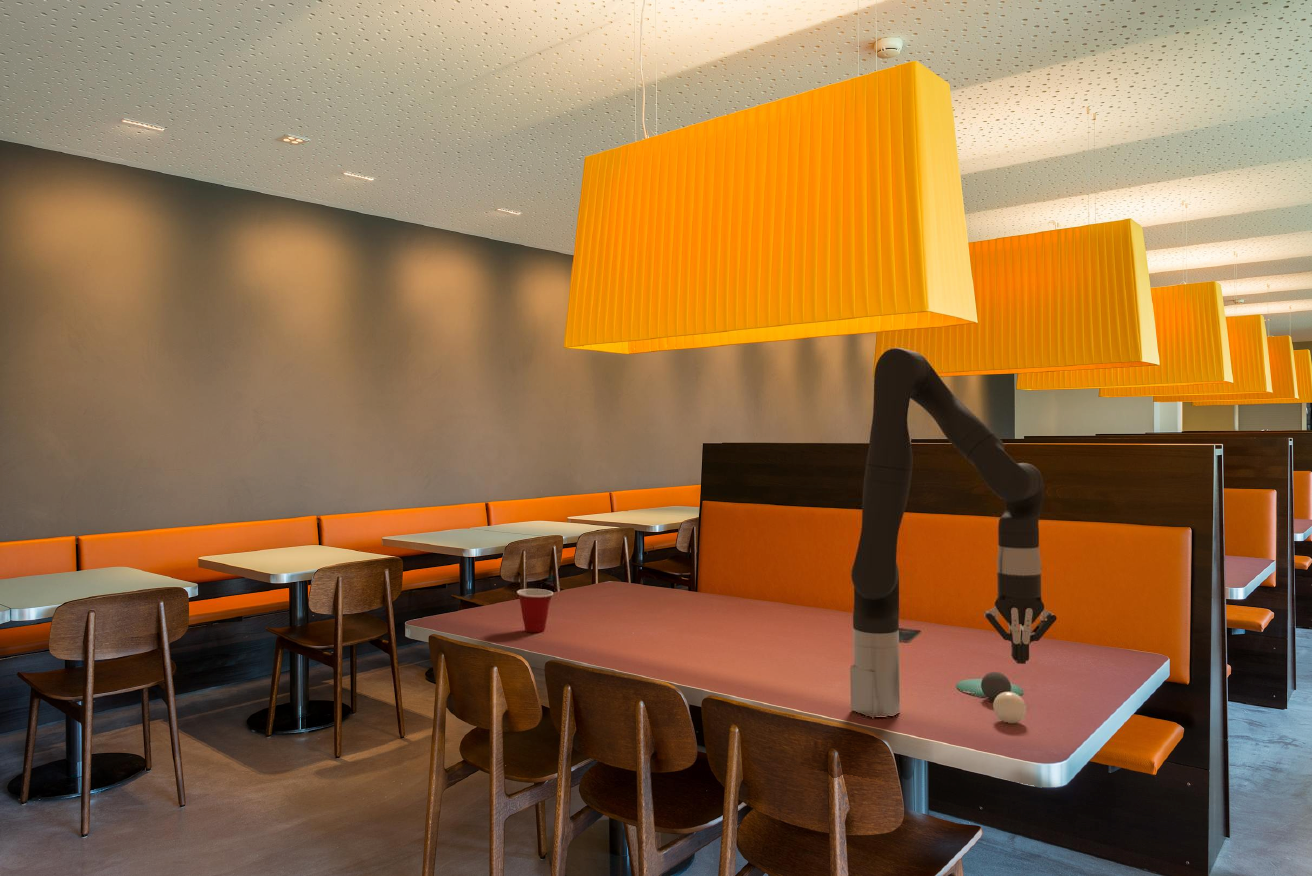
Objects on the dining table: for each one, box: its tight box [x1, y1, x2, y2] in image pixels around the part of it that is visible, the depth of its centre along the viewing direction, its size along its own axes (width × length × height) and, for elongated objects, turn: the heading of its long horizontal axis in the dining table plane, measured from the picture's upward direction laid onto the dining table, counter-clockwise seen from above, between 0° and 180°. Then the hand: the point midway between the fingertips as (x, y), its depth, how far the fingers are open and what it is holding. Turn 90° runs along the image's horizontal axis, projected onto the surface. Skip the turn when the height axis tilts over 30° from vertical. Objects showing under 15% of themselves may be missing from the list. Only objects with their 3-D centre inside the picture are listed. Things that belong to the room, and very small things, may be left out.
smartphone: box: [899, 627, 922, 643], centre depth 239 cm, size 8×1×15 cm
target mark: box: [955, 678, 1024, 698], centre depth 189 cm, size 14×14×1 cm
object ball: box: [981, 671, 1012, 701], centre depth 181 cm, size 6×6×6 cm
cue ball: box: [992, 692, 1027, 724], centre depth 167 cm, size 6×6×6 cm
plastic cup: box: [516, 588, 554, 633], centre depth 250 cm, size 11×11×12 cm
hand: (1020, 662), depth 157 cm, fingers closed
